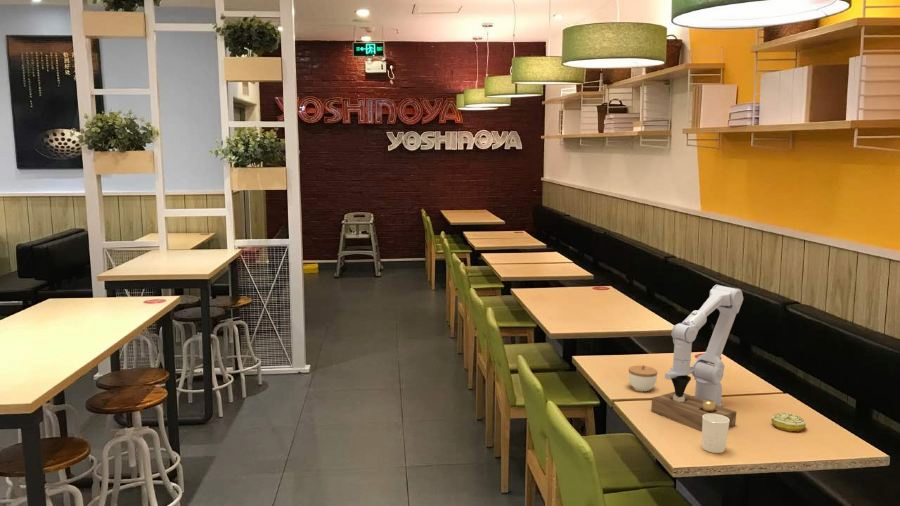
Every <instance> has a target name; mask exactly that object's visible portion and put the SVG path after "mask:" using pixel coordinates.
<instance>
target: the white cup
mask: <svg viewBox="0 0 900 506" xmlns="http://www.w3.org/2000/svg"><path fill="white" fill-rule="evenodd" d="M729 421H730V420H729V418H727V417H725V416H723V415H719V414H705V415H703V416H702V431H701V441H702V443H701V448H702V449H703V450H705V451H706V452H709V453H712V454H722V453H724V452H725V451H726V446H727V445H726V444H727V440H728V435H729V429H730V428H729Z"/></svg>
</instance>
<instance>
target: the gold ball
mask: <svg viewBox="0 0 900 506" xmlns="http://www.w3.org/2000/svg"><path fill="white" fill-rule="evenodd" d="M702 411H705V412H708V413H713V412H714V411H715V401H713V400H709V399H704V400H703V403H702Z"/></svg>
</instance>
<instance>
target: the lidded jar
mask: <svg viewBox="0 0 900 506" xmlns="http://www.w3.org/2000/svg"><path fill="white" fill-rule="evenodd" d="M658 374H659V373H658V370H657V369H656V368H654V367H651V366H646V365H645V364H642V365H633V366H629V368H628V380H629V384H630V385H631V388H632V387H633V390H634V391H637V392H641V391H642V392H643V391H648V392H650V391H649V390H652V389H653V388H654V386H655V385H656V382H657V379H658ZM642 392H641V393H642ZM643 393H644V392H643Z"/></svg>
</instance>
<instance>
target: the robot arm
mask: <svg viewBox="0 0 900 506" xmlns="http://www.w3.org/2000/svg"><path fill="white" fill-rule="evenodd" d="M743 294H744V293H743V292H742V290H741V289H740V288H734V287H729V286H724V285H720V284H715V285H714V286H712V288H711V289H710V290H709V296H708V298H707V299H706V301H704V302H703V304H702V305H701V307H700V308H699V309H698V310H696V309H695V310H693V311H692V312H691V313H690V314H689V315H688V316H687V317H686V318H685V319H684V320H682V322H679V323H677V324H675V325H674V326H673V328H672V331H671V334H670V335H671V337H672V342H673V345H674V346H673V361H672V367H670V368H669V371H667V372H665V373H664V379H666V380H669V381H670V380H671V383H672V384H673V388H674V392H675V394H676V396H679V397H682V396H683V394H684V393H685V390H686V388H687V386H688V385H689V383H690V381H692V377H691V376H689V375H690V374H691V375H692V376H693V378H694V381H695V389H694V397H696V398H699V399H702V400H704V399H709V400H713V401H715V404H716V405H719V406H722V407H724V404H723V403H722V398H723V397H722V396H723V395H722V394H723V385H722V383H721V381H722V380H723V377H724V372H725V371H724V370H725V368H726V366H725V364H724V362H723V360H722V359H721V357H722V354H723V351H724V348H725V346H726V343H727V340H728V338H729V335H730V332H731V329H732V327H733V324H734V321H735V318H736V316H737V314H739V312H740V309H741V306H742V304H743V301H744V296H743ZM716 309H717V310H718V311H719V316H718V318H717V321H716V324H715V327H714V329H713V331H712V335H711V337H710V339H709V342H708V346H707V348H706V349H705V353H703V354H700V355H698V356H697V358H696V360H695V362H693V364H692V366H691V361H692V347H693V342H695V340H696V338H697V335H698V332H699V330H700V329H701V328H702V327H703V326H704V325H706V323H707V320H708V319H707V317H708V316H709V315H710V314H711V313H713V312H714V311H715V310H716Z"/></svg>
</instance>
